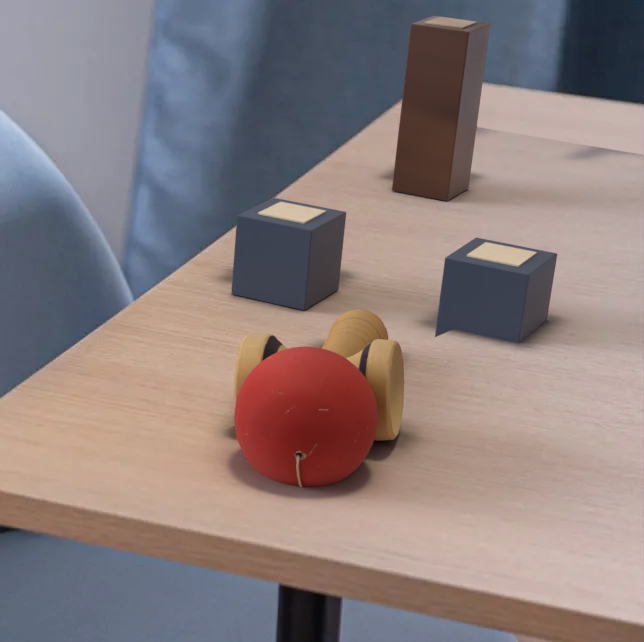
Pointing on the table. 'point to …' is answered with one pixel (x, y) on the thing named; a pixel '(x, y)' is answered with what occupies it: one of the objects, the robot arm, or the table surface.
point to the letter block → (440, 107)
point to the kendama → (318, 400)
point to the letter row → (325, 263)
